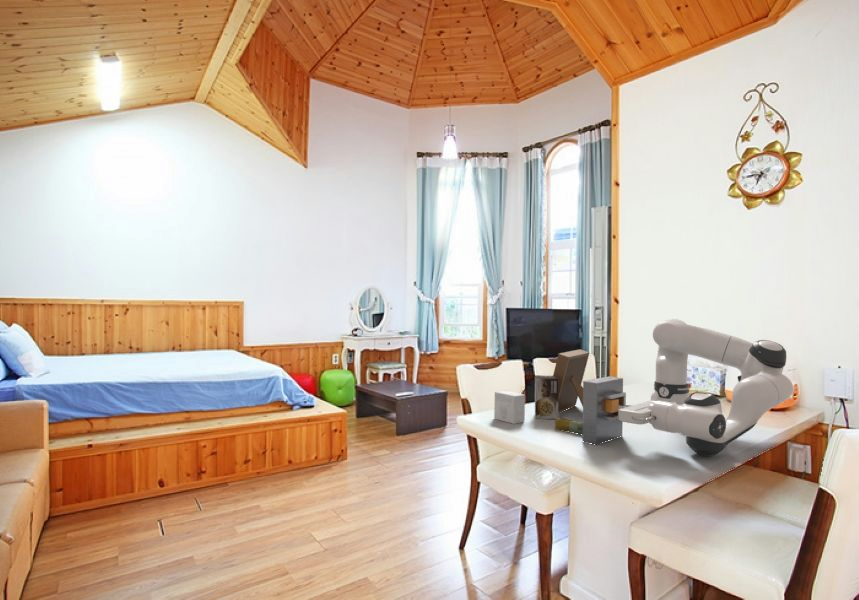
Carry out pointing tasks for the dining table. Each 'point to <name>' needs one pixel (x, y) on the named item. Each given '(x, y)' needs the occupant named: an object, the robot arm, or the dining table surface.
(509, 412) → the skincare box
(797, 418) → the dining table surface
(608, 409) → the plunger
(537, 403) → the coffee box
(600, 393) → the panel
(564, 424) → the medication box
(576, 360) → the photo frame
